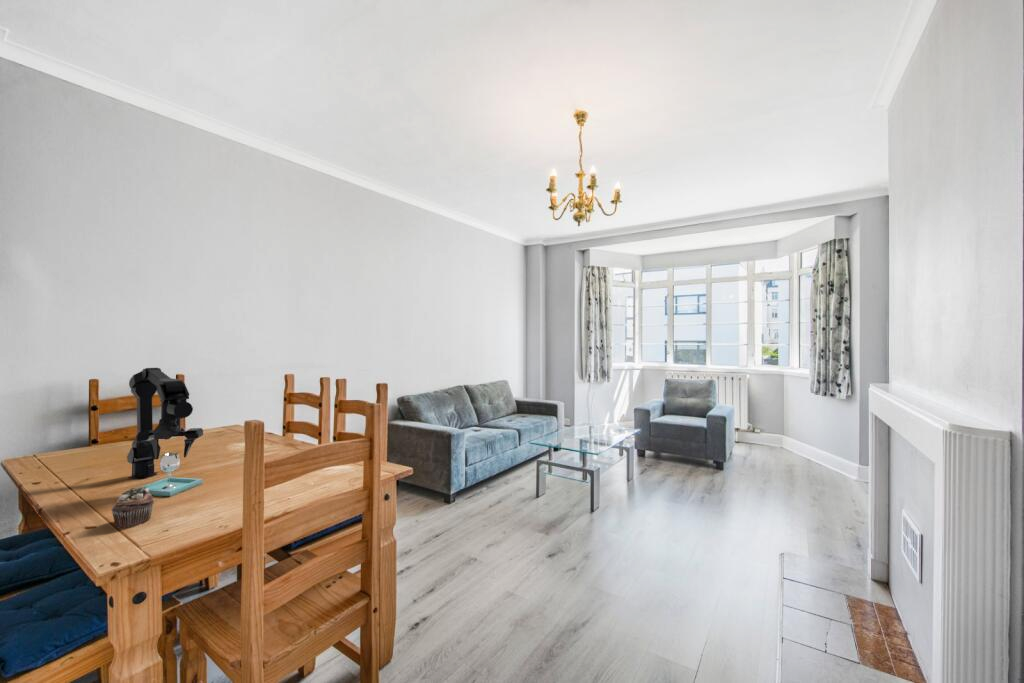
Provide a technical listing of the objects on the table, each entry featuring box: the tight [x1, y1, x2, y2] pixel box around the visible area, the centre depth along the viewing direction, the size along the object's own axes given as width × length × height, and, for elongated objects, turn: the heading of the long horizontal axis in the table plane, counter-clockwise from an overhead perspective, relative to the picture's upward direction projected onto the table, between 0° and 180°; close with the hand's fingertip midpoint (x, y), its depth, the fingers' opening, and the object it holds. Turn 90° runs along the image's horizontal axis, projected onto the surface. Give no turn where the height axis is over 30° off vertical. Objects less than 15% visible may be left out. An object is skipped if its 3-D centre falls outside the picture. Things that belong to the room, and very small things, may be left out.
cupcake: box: [111, 487, 155, 528], centre depth 131 cm, size 10×10×10 cm
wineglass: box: [159, 452, 181, 489], centre depth 159 cm, size 6×6×12 cm
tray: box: [135, 476, 203, 498], centre depth 159 cm, size 14×14×2 cm
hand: (170, 457), depth 159 cm, fingers open, 9 cm apart
